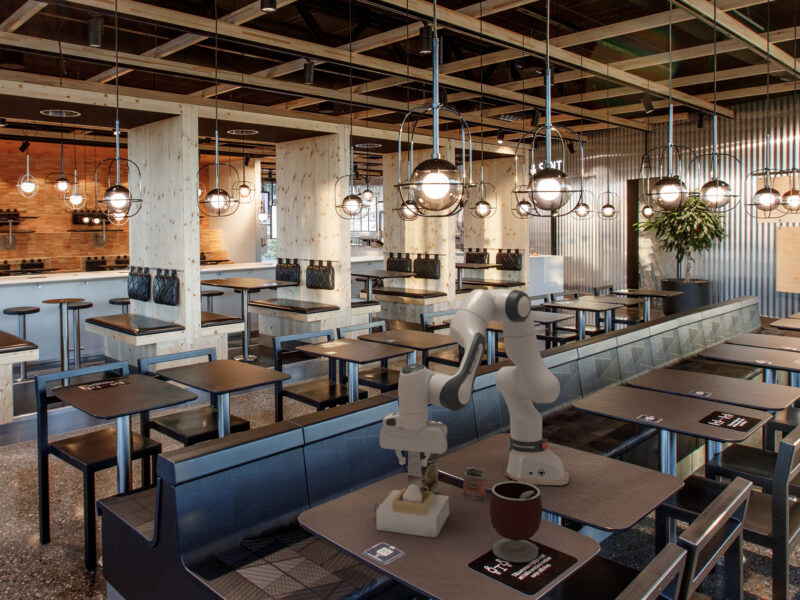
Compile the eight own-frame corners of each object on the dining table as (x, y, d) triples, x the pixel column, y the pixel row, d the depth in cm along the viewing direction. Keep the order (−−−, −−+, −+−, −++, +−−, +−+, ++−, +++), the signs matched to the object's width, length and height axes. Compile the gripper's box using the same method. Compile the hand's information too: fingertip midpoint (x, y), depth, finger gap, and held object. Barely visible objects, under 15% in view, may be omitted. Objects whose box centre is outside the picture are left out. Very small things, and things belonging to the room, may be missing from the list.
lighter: (461, 496, 212) (461, 467, 211) (465, 493, 215) (465, 464, 214) (484, 501, 208) (484, 471, 207) (487, 497, 211) (488, 468, 210)
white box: (448, 514, 198) (448, 489, 197) (436, 537, 183) (436, 510, 182) (384, 507, 204) (384, 482, 203) (367, 528, 189) (366, 502, 188)
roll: (415, 478, 196) (426, 484, 192) (415, 516, 197) (425, 522, 193) (399, 481, 193) (409, 488, 188) (398, 520, 194) (408, 527, 189)
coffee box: (423, 500, 209) (423, 452, 208) (407, 495, 213) (407, 448, 212) (438, 491, 216) (438, 445, 215) (423, 487, 220) (423, 441, 219)
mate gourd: (480, 544, 179) (480, 474, 177) (523, 535, 184) (524, 468, 182) (508, 570, 164) (509, 495, 162) (555, 560, 169) (556, 487, 167)
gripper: (449, 419, 190) (449, 464, 191) (384, 414, 196) (384, 458, 197) (444, 425, 184) (444, 472, 185) (377, 419, 190) (377, 464, 191)
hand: (413, 464), depth 191 cm, fingers open, 5 cm apart
